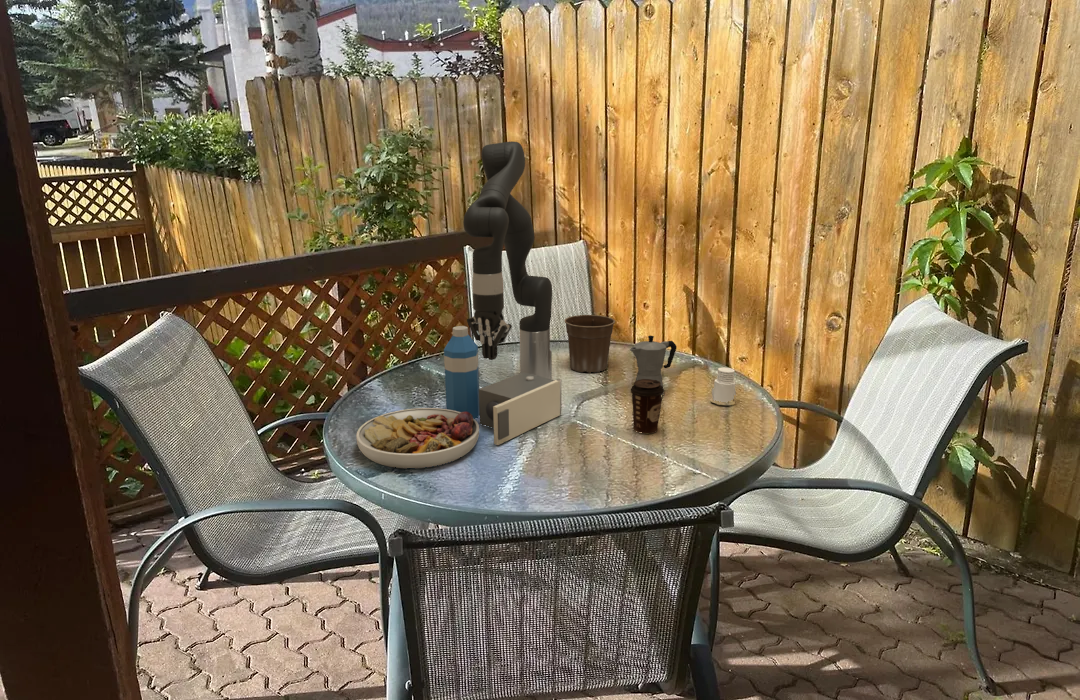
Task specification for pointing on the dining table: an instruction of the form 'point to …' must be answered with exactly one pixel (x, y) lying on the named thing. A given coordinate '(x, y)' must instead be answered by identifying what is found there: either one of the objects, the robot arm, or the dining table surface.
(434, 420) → the bowl
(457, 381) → the water bottle
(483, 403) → the grey button box
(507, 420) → the case door
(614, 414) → the dining table surface
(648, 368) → the coffeepot
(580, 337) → the plant pot
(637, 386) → the coffee cup
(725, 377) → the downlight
